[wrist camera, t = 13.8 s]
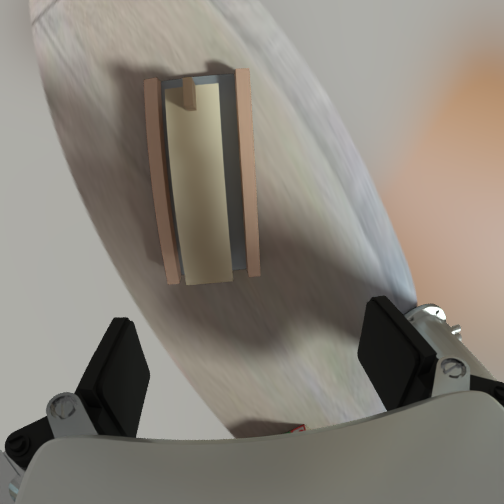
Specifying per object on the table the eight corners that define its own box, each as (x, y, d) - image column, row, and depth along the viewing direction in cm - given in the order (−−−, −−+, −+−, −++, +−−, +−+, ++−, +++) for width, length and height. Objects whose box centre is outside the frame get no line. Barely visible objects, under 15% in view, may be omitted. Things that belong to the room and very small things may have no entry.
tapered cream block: (218, 95, 24) (218, 74, 16) (230, 254, 30) (235, 299, 22) (175, 100, 23) (156, 81, 15) (191, 257, 30) (183, 303, 21)
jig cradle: (245, 75, 24) (249, 68, 21) (256, 263, 32) (260, 276, 29) (151, 85, 24) (143, 79, 21) (172, 271, 31) (168, 284, 28)
